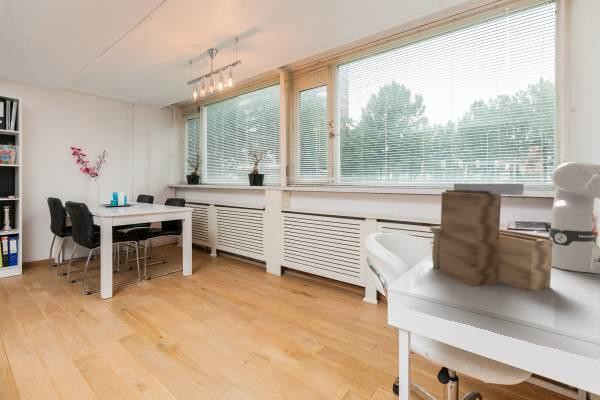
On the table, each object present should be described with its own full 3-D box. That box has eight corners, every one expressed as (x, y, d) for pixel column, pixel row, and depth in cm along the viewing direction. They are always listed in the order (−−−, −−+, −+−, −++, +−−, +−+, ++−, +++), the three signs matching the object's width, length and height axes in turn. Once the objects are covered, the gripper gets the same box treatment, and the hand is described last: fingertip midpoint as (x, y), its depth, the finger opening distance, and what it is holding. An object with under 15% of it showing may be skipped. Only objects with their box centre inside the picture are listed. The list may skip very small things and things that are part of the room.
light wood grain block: (500, 272, 101) (502, 229, 100) (549, 287, 86) (553, 236, 86) (481, 275, 98) (483, 230, 97) (529, 291, 83) (532, 238, 82)
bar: (460, 192, 98) (460, 183, 98) (523, 194, 79) (523, 184, 79) (453, 192, 97) (453, 183, 97) (515, 195, 78) (516, 183, 78)
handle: (449, 268, 105) (450, 227, 104) (438, 270, 102) (439, 229, 101) (437, 264, 109) (438, 225, 108) (426, 267, 106) (427, 227, 105)
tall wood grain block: (460, 270, 102) (464, 189, 100) (496, 282, 90) (501, 190, 88) (439, 273, 99) (442, 189, 97) (473, 286, 87) (477, 191, 85)
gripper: (624, 218, 56) (554, 182, 66) (674, 215, 63) (603, 183, 74) (652, 191, 52) (573, 157, 63) (700, 191, 60) (623, 161, 70)
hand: (590, 171), depth 68 cm, fingers open, 8 cm apart
